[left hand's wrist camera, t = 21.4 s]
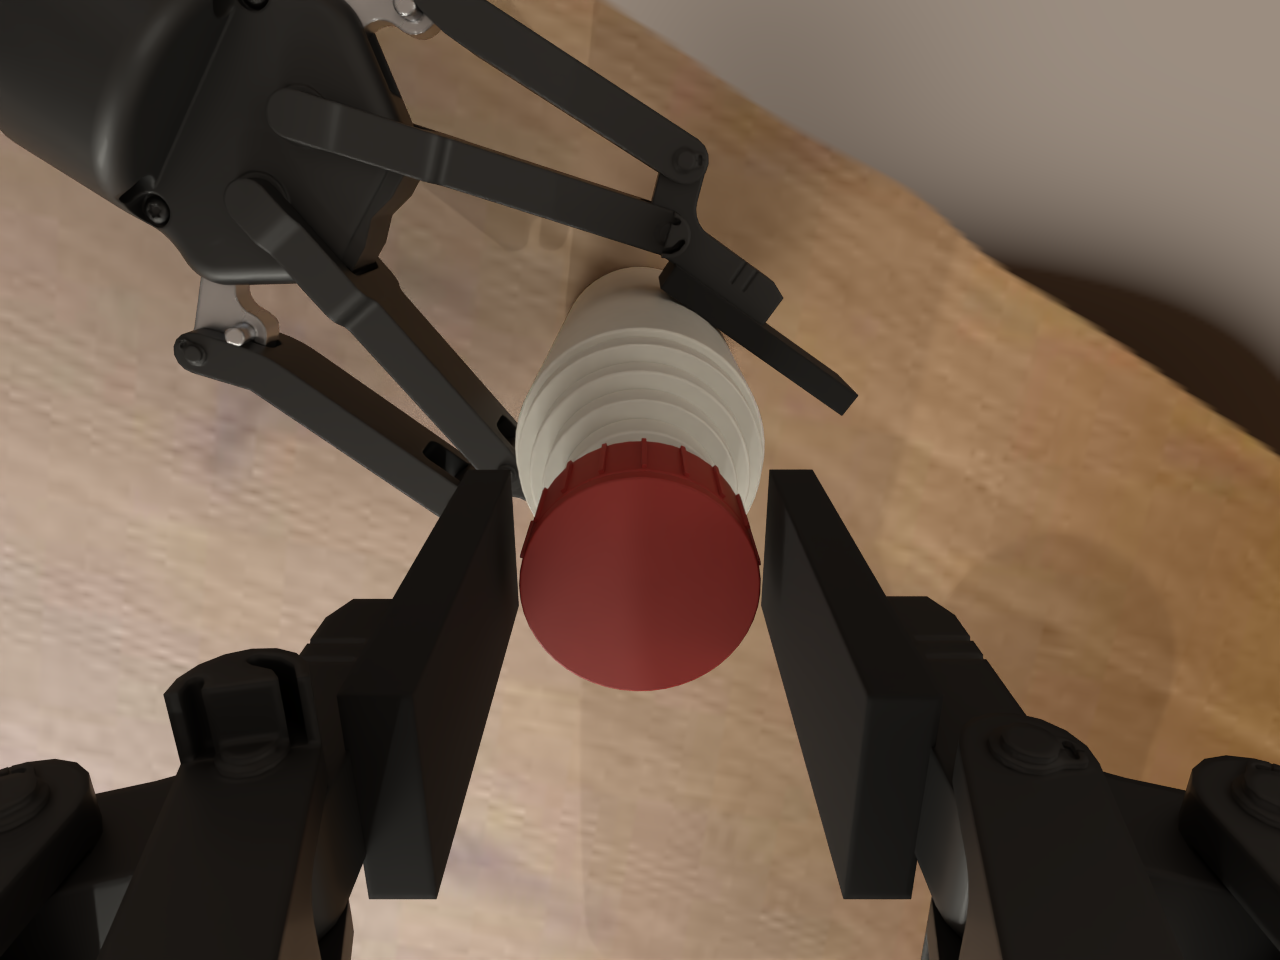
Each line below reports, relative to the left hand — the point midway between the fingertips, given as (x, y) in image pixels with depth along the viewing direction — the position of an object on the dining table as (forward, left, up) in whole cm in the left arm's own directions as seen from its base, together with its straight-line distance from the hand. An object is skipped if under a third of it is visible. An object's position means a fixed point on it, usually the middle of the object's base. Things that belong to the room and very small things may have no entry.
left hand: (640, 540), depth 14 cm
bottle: (0, 0, -18) cm, 18 cm away
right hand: (-5, 0, -11) cm, 12 cm away
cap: (0, 0, +2) cm, 2 cm away
